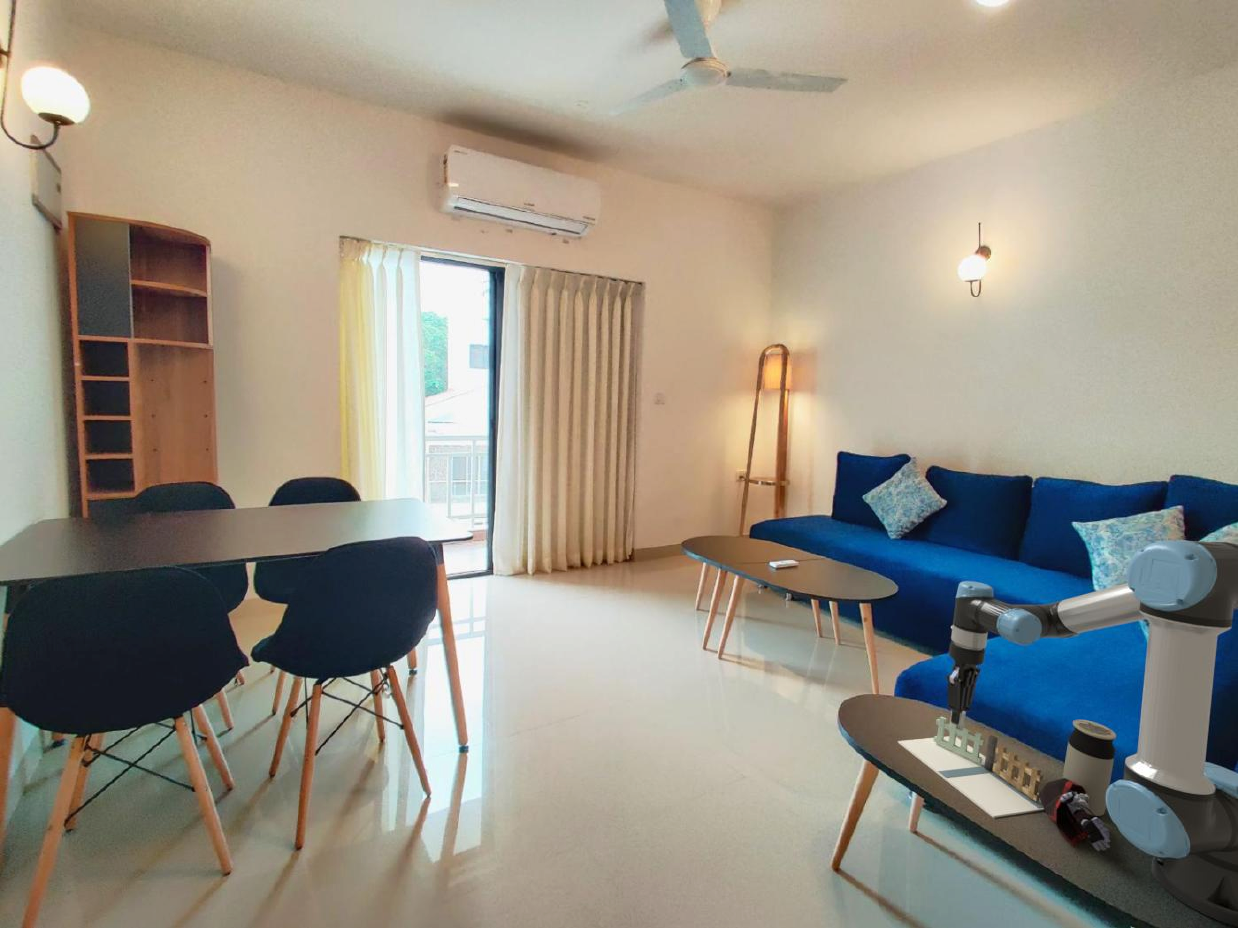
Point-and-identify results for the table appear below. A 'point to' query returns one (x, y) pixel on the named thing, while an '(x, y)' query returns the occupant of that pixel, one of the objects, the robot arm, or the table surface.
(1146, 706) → the robot arm
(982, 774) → the card
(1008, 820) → the table surface
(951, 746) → the fence gate
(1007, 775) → the fence fixed
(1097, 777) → the travel mug
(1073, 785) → the toy
